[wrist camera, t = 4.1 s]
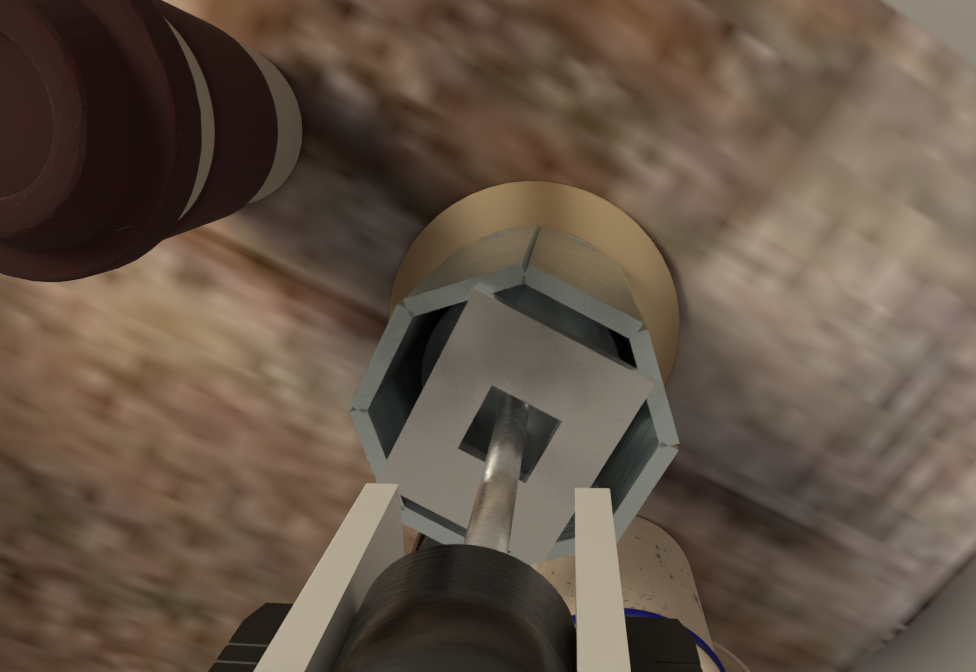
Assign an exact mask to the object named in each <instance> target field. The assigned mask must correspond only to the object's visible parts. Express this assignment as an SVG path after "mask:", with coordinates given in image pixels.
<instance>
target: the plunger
mask: <svg viewBox="0 0 976 672" xmlns="http://www.w3.org/2000/svg"><path fill="white" fill-rule="evenodd" d="M494 294H496V295H498V296H499V297H501V298H503V299H505V300H507V301H509V302H511V303H513V304H515V305H517V306H519V307H521V308H522V309H524V310H526V311H528V312H530V313H532V314H534V315H536V316H538V317H540V318H542V319H543V320H545V321H547V322H549V323H551V324H553V325H555V326H557V327H559V328H561V329H563V330H565V331H566V332H568V333H570V334H572V335H574V336H576V337H578V338H580V339H582V340H584V341H586V342H587V343H589V344H591V345H593V346H595V347H597V348H599V349H601V350H603V351H605V352H607V353H609V354H610V355H612V356H614V357H616V358H618V359H620V358H619V354H618V350H617V346H616V343H615V341H614V338H613V336H612V334H611V332H610V330H609V328H608V327H606V326H604V325H602V324H600V323H599V322H597V321H595V320H593V319H591V318H589V317H587V316H585V315H583V314H581V313H579V312H578V311H576V310H574V309H572V308H570V307H568V306H566V305H564V304H562V303H560V302H558V301H557V300H555V299H553V298H551V297H549V296H547V295H545V294H543V293H541V292H539V291H537V290H536V289H534V288H532V287H530V286H528V285H526V284H520V285H517V286H514V287H510V288H507V289H504V290H500V291H497V292H494ZM467 302H468V300H467V301H464V302H460V303H457V304H454V305H452V306H451V307H450V308H449V309H448V311H447V312H446V313H445V314H444V316H443V317H442V318H441V319H440V321H439V322H438V324H437V325H436V327H435V329H434V330H433V332H432V334H431V336H430V338H429V341H428V343H427V345H426V349H425V353H424V357H423V363H422V386H423V388H424V386H425V384H426V382H427V380H428V378H429V376H430V375H431V373H432V371H433V369H434V367H435V365H436V363H437V361H438V359H439V357H440V355H441V353H442V351H443V349H444V347H445V345H446V343H447V341H448V339H449V337H450V335H451V333H452V331H453V330H454V328H455V326H456V324H457V322H458V320H459V318H460V316H461V314H462V312H463V310H464V308H465V306H466V304H467ZM557 422H558V419H556V418H555V417H553V416H551V415H549V414H547V413H545V412H543V411H541V410H539V409H537V408H535V407H533V406H531V405H530V404H528V403H526V402H524V401H522V400H520V399H518V398H516V397H514V396H512V395H510V394H508V393H506V392H504V391H503V390H501V389H499V388H497V387H495V386H493V385H492V386H491V388H490V390H489V391H488V393H487V395H486V397H485V399H484V401H483V402H482V404H481V406H480V408H479V410H478V412H477V413H476V415H475V417H474V419H473V421H472V423H471V424H470V426H469V428H468V430H467V432H466V434H465V435H464V437H463V439H462V441H463V442H465V443H466V444H468V445H470V446H472V447H474V448H476V449H478V450H480V451H482V452H484V453H486V454H487V457H486V460H485V464H484V468H483V472H482V476H481V479H480V483H479V487H478V491H477V495H476V498H475V502H474V506H473V510H472V513H471V517H470V521H469V525H468V529H467V532H466V536H465V540H464V544H445V545H438V546H432V547H428V548H424V549H421V550H418V551H415V552H413V553H410V554H408V555H406V556H404V557H402V558H400V559H399V560H397V561H396V562H394V563H392V564H391V565H390V566H389V567H388V568H386V569H385V570H384V571H383V572H382V573H381V574H380V575H379V576H378V577H377V578H376V580H375V581H374V582H373V584H372V585H371V587H370V588H369V590H368V591H367V593H366V596H365V598H364V600H363V602H362V604H361V607H360V609H359V611H358V613H357V615H356V618H355V620H354V622H353V624H352V627H351V629H350V631H349V633H348V635H347V638H346V640H345V642H344V644H343V647H342V649H341V651H340V653H339V655H338V658H337V660H336V662H335V664H334V666H333V669H332V671H331V672H577V643H576V627H575V623H574V620H573V618H572V615H571V613H570V610H569V608H568V606H567V605H566V603H565V601H564V600H563V598H562V596H561V595H560V594H559V593H558V591H557V590H556V589H555V588H554V586H553V585H552V584H551V583H550V582H549V581H548V580H547V579H546V578H545V577H544V576H543V575H541V574H540V573H539V572H537V571H536V570H535V569H533V568H532V567H531V566H529V565H528V564H526V563H524V562H522V561H521V560H519V559H517V558H515V557H513V556H511V555H508V548H509V541H510V535H511V528H512V521H513V515H514V508H515V501H516V495H517V488H518V481H519V475H520V471H521V472H528V471H529V470H530V468H531V466H532V464H533V463H534V461H535V459H536V458H537V456H538V454H539V453H540V451H541V449H542V448H543V446H544V444H545V442H546V441H547V439H548V437H549V436H550V434H551V432H552V431H553V429H554V427H555V426H556V424H557Z"/></svg>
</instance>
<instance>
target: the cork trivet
mask: <svg viewBox="0 0 976 672" xmlns="http://www.w3.org/2000/svg"><path fill="white" fill-rule="evenodd" d="M534 223H538V224H539V226H542V224H543V223H545V224H546V225H548V226H550V227H552V228H555V229H559V230H562V231H565V232H569V233H571V234H573V235H575V236H578V237H580V238H582V239H584V240H585V241H587V242H588V243H590V244H592V245H593V246H595V247H596V248H597V249H598V250H599V251H601V252H602V253H603V254H604V255H605V256H607V257H609V258H611V259H613V260H615V261H617V262H618V264H619V266H621V267H622V270H623V272H624V274H625V277H626V279H627V281H628V284H629V286H630V288H631V291H632V293H633V295H634V298H635V300H636V302H637V305H638V307H639V309H640V312H641V314H642V317H643V319H644V321H645V324H646V326H647V328H648V331H649V335H650V338H651V342H652V346H653V349H654V353H655V356H656V360H657V364H658V367H659V371H660V374H661V378H662V382H663V385H664V387H665V385H666V383H667V381H668V378H669V376H670V373H671V371H672V368H673V365H674V361H675V357H676V353H677V349H678V342H679V333H680V317H679V306H678V300H677V294H676V290H675V287H674V283H673V280H672V277H671V274H670V272H669V270H668V268H667V265H666V263H665V261H664V259H663V257H662V255H661V254H660V252H659V251H658V249H657V248H656V246H655V245H654V243H653V242H652V240H651V239H650V238H649V236H648V235H647V234H646V233H645V232H644V231H643V230H642V229H641V227H640V226H639V225H638V224H637V223H636V222H635V221H634V220H633V219H631V218H630V217H629V216H628V215H627V214H626V213H624V212H623V211H622V210H621V209H619V208H618V207H616V206H615V205H613V204H611V203H610V202H608V201H607V200H605V199H603V198H601V197H599V196H597V195H595V194H593V193H590V192H588V191H586V190H583V189H579V188H576V187H573V186H570V185H566V184H560V183H554V182H548V181H521V182H511V183H506V184H501V185H497V186H493V187H489V188H486V189H484V190H481V191H479V192H476V193H473V194H471V195H469V196H467V197H465V198H464V199H462V200H460V201H458V202H456V203H455V204H453V205H451V206H450V207H449V208H447V209H446V210H445V211H443V212H442V213H441V214H439V215H438V216H437V217H436V218H435V219H434V220H433V221H432V222H430V223H429V224H428V225H427V226H426V227H425V228H424V229H423V231H422V232H421V233H420V234H419V236H418V237H417V238H416V240H415V241H414V242H413V243H412V245H411V247H410V248H409V250H408V252H407V253H406V255H405V257H404V259H403V260H402V263H401V265H400V268H399V270H398V273H397V275H396V277H395V281H394V285H393V289H392V293H391V298H390V306H389V321H390V319H391V316H392V314H393V312H394V310H395V308H396V306H397V304H398V303H399V302H400V301H401V300H402V299H403V298H404V297H406V296H407V295H408V294H409V293H410V292H411V291H412V290H413V289H414V288H415V287H416V286H417V285H418V284H420V283H421V282H422V281H423V280H424V279H425V278H426V277H427V276H428V275H429V274H430V273H431V272H432V271H433V270H435V269H436V268H437V267H438V266H439V265H440V264H441V263H442V262H443V261H444V260H445V259H446V258H447V257H449V256H450V255H451V254H452V253H453V252H454V251H455V250H456V249H458V248H459V247H462V246H465V245H468V244H471V243H474V242H476V241H477V240H479V239H481V238H483V237H485V236H487V235H489V234H492V233H494V232H497V231H500V230H504V229H508V228H512V227H521V226H528V225H531V224H534Z"/></svg>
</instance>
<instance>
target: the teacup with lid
mask: <svg viewBox="0 0 976 672" xmlns="http://www.w3.org/2000/svg"><path fill="white" fill-rule="evenodd" d="M616 547H617V555H618V564H619V573H620V581H621V590H622V599H623V608H624V616H627V617H651V618H674V619H678V620H679V621H680V622H681V624H682V625H683V626H684V627H685V628H686V630H687V631H688V632H689V633H690V634H691V636H692V637H693V638H694V639H695V643H696V647H697V651H698V655H699V659H700V663H701V668H702V671H703V672H750V670H749V669H748V668H747V667H746V666H745V665H744V664H743V663H742V662H741V661H740V660H739V659H738V658H737V657H736V656H735V655H734V654H732V653H731V652H730V651H728V650H727V649H726V648H724V647H722V646H721V645H719V644H717V643H715V642H714V641H712V640H711V638H710V634H709V631H708V627H707V624H706V620H705V617H704V613H703V610H702V606H701V603H700V599H699V596H698V592H697V589H696V585H695V582H694V578H693V575H692V572H691V568H690V565H689V562H688V560H687V558H686V556H685V554H684V552H683V551H682V549H681V548H680V546H679V545H678V544H677V542H676V541H675V540H674V539H673V538H672V537H671V536H670V535H669V534H668V533H666V532H665V531H664V530H663V529H661V528H660V527H658V526H657V525H655V524H653V523H652V522H650V521H648V520H645V519H643V518H640V517H638V516H635V517H634V518H633V520H632V521H631V523H630V524H629V526H628V527H627V529H626V530H625V532H624V533H623V535H622V536H621V538H620V539H619V541H618V542H617V543H616ZM531 567H532V568H533V569H535V570H536V571H537V572H539V573H540V574H541V575H543V576H544V577H545V578H546V579H547V580H548V581H549V582H550V583H551V584H552V585H553V586H554V588H555V589H556V590H557V591H558V593H559V594H560V595H561V596H562V598H563V600H564V601H565V603H566V605H567V606H568V608H569V610H570V613H571V615H572V618H573V620H574V623H575V627H576V609H575V555H572V556H567V557H563V558H558V559H554V560H549V561H544V562H543V563H542V565H541V566H538V565H536V564H531Z"/></svg>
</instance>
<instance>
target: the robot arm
mask: <svg viewBox="0 0 976 672" xmlns="http://www.w3.org/2000/svg"><path fill="white" fill-rule="evenodd" d="M402 557H404V544H403V532H402V519H401V507H400V494H399V484H374V483H366V485H365V486H364V488H363V490H362V491H361V493H360V495H359V496H358V498H357V500H356V501H355V503H354V505H353V506H352V508H351V510H350V511H349V513H348V515H347V516H346V518H345V520H344V521H343V523H342V525H341V526H340V528H339V530H338V531H337V533H336V535H335V536H334V538H333V540H332V541H331V543H330V545H329V546H328V548H327V550H326V551H325V553H324V555H323V556H322V558H321V560H320V561H319V563H318V565H317V566H316V568H315V570H314V571H313V573H312V575H311V576H310V578H309V580H308V581H307V583H306V585H305V586H304V588H303V590H302V591H301V593H300V595H299V596H298V598H297V600H296V601H295V603H294V604H282V603H265V604H264V605H263V606H261V607H260V608H259V609H258V610H256V611H255V612H254V613H252V614H251V615H250V616H249V617H247V618H246V619H245V620H243V622H242V623H241V625H240V626H239V628H238V629H237V631H236V632H235V633H234V635H233V636H232V638H231V639H230V641H229V645H228V646H226V647H225V648H224V650H223V651H222V652H221V654H220V655H219V657H218V658H217V663H214V664H213V666H212V667H211V669H210V670H209V671H208V672H331V671H332V669H333V666H334V664H335V662H336V660H337V658H338V655H339V653H340V651H341V649H342V647H343V644H344V642H345V640H346V638H347V635H348V633H349V631H350V629H351V627H352V624H353V622H354V620H355V618H356V615H357V613H358V611H359V609H360V607H361V604H362V602H363V600H364V598H365V596H366V593H367V591H368V590H369V588H370V587H371V585H372V584H373V582H374V581H375V580H376V578H377V577H378V576H379V575H380V574H381V573H382V572H383V571H384V570H385V569H386V568H388V567H389V566H390V565H391V564H392V563H394V562H396V561H397V560H399V559H400V558H402ZM575 609H576V643H577V672H703V671H702V668H701V663H700V659H699V655H698V651H697V647H696V643H695V639H694V638H693V637H692V636H691V634H690V633H689V632H688V631H687V630H686V628H685V627H684V626H683V625H682V624H681V622H680V621H679V620H678V619H674V618H651V617H627V616H624V608H623V599H622V590H621V581H620V573H619V564H618V555H617V547H616V538H615V529H614V521H613V512H612V503H611V495H610V488H575Z"/></svg>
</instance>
